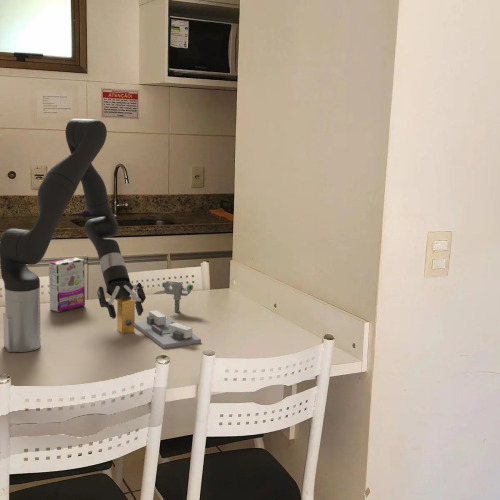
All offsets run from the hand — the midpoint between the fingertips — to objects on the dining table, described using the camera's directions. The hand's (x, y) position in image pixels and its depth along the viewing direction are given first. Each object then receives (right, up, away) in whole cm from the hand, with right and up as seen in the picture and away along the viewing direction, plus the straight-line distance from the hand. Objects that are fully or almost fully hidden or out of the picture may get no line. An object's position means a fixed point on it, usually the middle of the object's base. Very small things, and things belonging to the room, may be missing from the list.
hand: (127, 315), depth 204 cm
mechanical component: (+12, -1, +24) cm, 27 cm away
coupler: (-1, -5, +2) cm, 5 cm away
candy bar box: (-24, 0, +22) cm, 33 cm away
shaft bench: (+12, -6, +1) cm, 13 cm away
